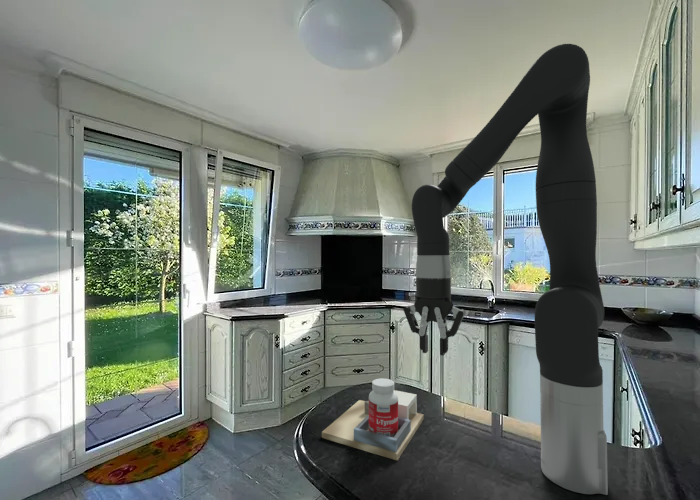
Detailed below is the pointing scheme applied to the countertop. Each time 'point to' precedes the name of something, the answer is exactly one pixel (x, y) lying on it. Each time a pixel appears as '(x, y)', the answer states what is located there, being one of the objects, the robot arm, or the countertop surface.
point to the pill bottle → (383, 408)
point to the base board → (356, 432)
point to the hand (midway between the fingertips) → (433, 353)
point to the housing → (406, 404)
